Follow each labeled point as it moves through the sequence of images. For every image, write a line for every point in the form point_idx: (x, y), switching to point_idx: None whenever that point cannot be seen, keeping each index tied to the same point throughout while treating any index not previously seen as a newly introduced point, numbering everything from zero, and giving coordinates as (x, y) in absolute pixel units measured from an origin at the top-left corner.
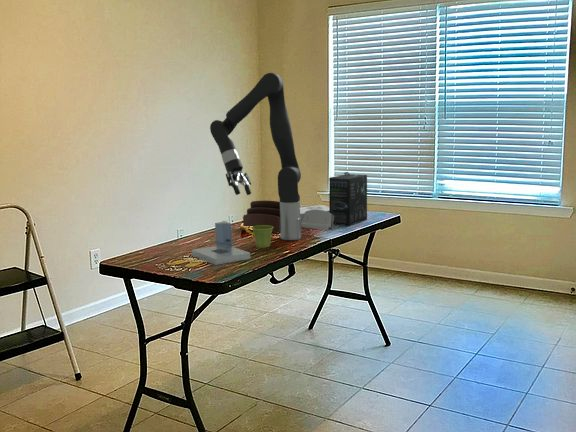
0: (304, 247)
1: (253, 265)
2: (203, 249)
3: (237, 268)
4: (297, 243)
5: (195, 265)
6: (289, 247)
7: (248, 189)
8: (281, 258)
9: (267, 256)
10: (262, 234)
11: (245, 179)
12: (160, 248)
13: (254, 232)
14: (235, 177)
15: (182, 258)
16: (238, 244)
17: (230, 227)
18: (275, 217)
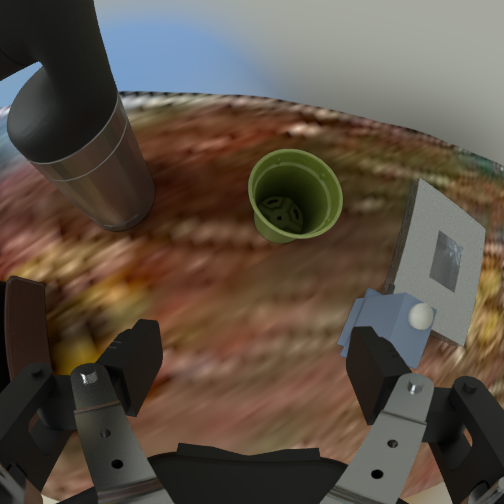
0: (232, 107)
1: (437, 156)
2: (452, 320)
3: (464, 177)
4: (187, 142)
5: (491, 271)
6: (250, 140)
7: (140, 352)
8: (366, 120)
9: (371, 155)
10: (320, 185)
11: (111, 428)
12: (413, 476)
13: (328, 216)
14: (397, 499)
15: (472, 344)
16: (287, 322)
17: (397, 295)
18: (11, 294)
